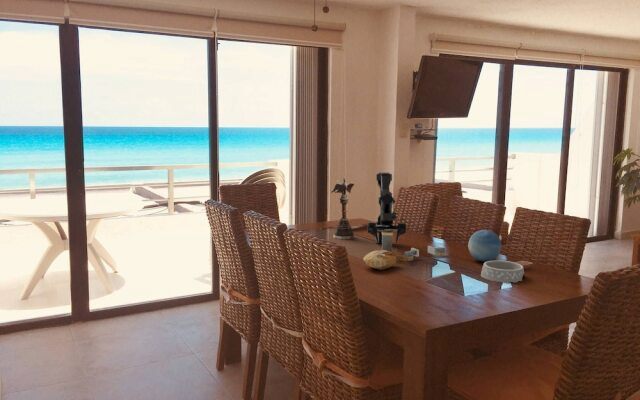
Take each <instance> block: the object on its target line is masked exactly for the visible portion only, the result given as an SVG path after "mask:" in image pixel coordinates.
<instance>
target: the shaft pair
mask: <svg viewBox="0 0 640 400" xmlns="http://www.w3.org/2000/svg"><path fill="white" fill-rule="evenodd" d="M427 254H432V255H436V256H437V257H440V258H442V257H447V252H446V248H445V247H444V246H443V247H441V246H440V247H434V246H431V245H427ZM419 255H420V250H419V249H417V248H415V247H411V248H410V250H408V251H404V253H403V255H402V261H404V260H405V262H412V261H414V256H415V257H416V258H417V257H419ZM403 256H406V257H403Z"/></svg>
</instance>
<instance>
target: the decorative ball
mask: <svg viewBox="0 0 640 400" xmlns="http://www.w3.org/2000/svg"><path fill="white" fill-rule="evenodd" d="M467 247H468V251H469V254H470V255H471V256H472V257H473V258H474V259H475V260H477V261H479V262H482V263H485V262H487V261H495V260H496V259H497V258H498V257H499V255H500V253H501V251H502V242H501V238H500V237H499V236H498V234H496V233H495V232H494V231H491V230H489V229H481V230H478V231H475V232H474V233H473V234H472V235H471V237H470V238H469V241H468V244H467Z"/></svg>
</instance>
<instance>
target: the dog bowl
mask: <svg viewBox="0 0 640 400" xmlns="http://www.w3.org/2000/svg"><path fill="white" fill-rule="evenodd" d="M480 276H481V278H483V279H486V280H488V281H492V282H497V283H508V282H509V283H508V284H510V282H513V283H519V282H518V281H521V282H522V281H523V277H524V278H526V275H525V271H524V266H523V265H522V264H520V263H517V262H514V261H507V260H492V261H487V262H483V265H482V269H481V273H480Z"/></svg>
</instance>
